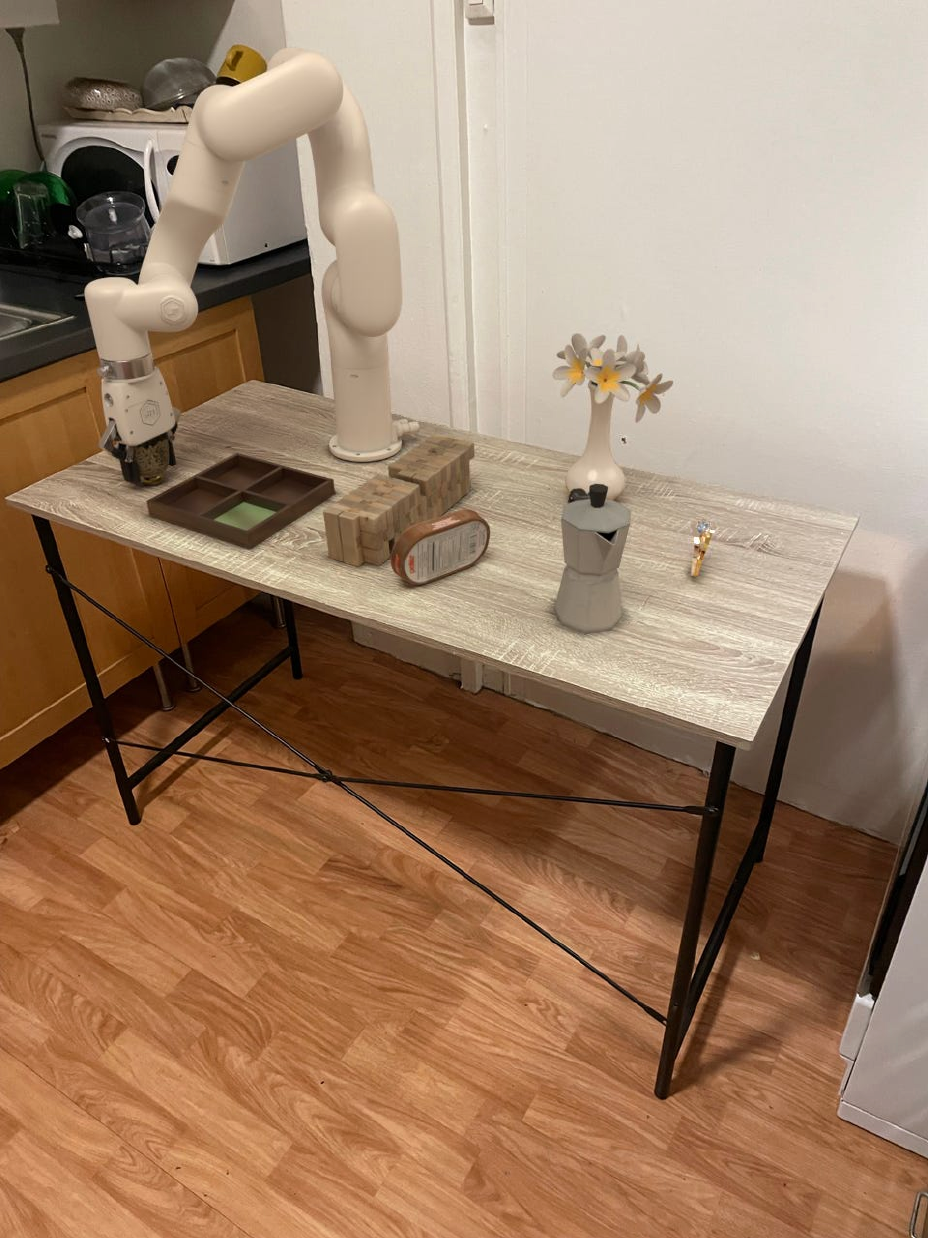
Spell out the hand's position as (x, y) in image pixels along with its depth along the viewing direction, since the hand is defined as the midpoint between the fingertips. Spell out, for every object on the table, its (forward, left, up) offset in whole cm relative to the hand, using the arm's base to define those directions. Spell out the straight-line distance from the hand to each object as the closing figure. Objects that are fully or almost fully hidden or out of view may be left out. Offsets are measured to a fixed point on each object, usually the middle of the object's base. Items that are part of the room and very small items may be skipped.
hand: (150, 472), depth 148 cm
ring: (-66, +57, -2) cm, 87 cm away
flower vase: (-64, +33, -2) cm, 72 cm away
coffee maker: (-48, +59, -2) cm, 76 cm away
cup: (0, 0, -2) cm, 2 cm away
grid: (-12, +14, -2) cm, 18 cm away
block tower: (-34, +28, -2) cm, 44 cm away
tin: (-34, +44, -2) cm, 56 cm away
